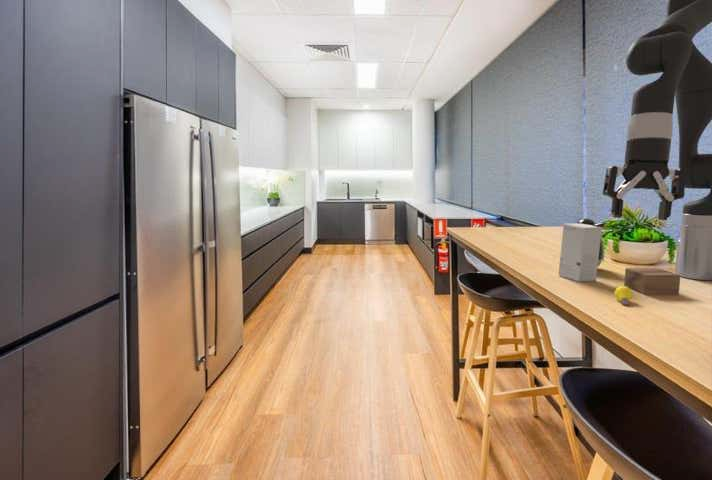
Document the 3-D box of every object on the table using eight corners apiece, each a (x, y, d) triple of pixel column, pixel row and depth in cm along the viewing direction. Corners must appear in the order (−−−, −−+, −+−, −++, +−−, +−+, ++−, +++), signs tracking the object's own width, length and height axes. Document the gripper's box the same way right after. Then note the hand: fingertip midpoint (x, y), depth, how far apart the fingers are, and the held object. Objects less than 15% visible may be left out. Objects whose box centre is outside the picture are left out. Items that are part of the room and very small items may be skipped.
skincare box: (557, 275, 123) (560, 223, 121) (576, 274, 125) (579, 222, 123) (579, 282, 115) (583, 226, 113) (598, 281, 117) (602, 225, 115)
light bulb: (627, 299, 100) (634, 286, 98) (630, 313, 95) (637, 300, 93) (611, 293, 101) (618, 281, 99) (613, 307, 96) (620, 294, 94)
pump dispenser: (592, 273, 126) (595, 221, 123) (558, 267, 134) (560, 218, 132) (610, 269, 131) (613, 218, 129) (576, 263, 140) (579, 216, 138)
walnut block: (624, 287, 111) (625, 268, 110) (656, 287, 111) (657, 267, 110) (643, 295, 103) (645, 275, 102) (678, 295, 103) (680, 274, 102)
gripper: (676, 142, 91) (667, 220, 92) (603, 140, 93) (595, 216, 94) (699, 136, 83) (688, 221, 85) (618, 134, 86) (610, 217, 87)
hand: (639, 218), depth 90 cm, fingers open, 8 cm apart
